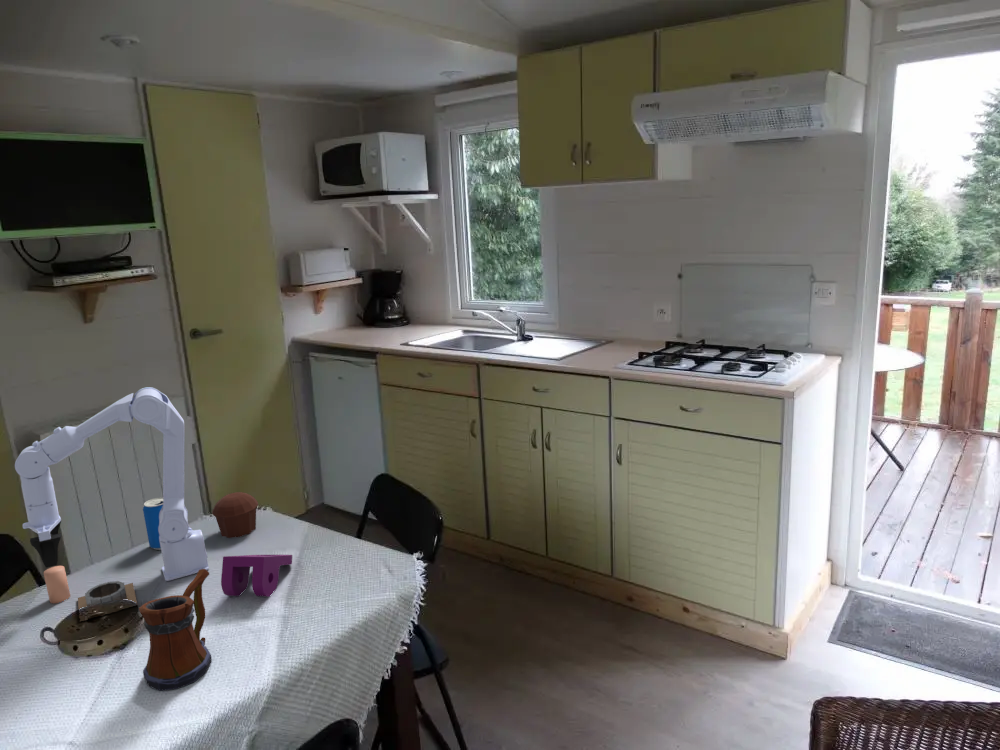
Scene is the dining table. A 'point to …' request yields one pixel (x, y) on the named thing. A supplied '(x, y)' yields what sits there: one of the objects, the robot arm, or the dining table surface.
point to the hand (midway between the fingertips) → (51, 559)
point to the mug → (176, 638)
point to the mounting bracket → (262, 575)
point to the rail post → (56, 584)
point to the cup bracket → (107, 593)
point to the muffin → (236, 514)
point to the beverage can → (153, 521)
